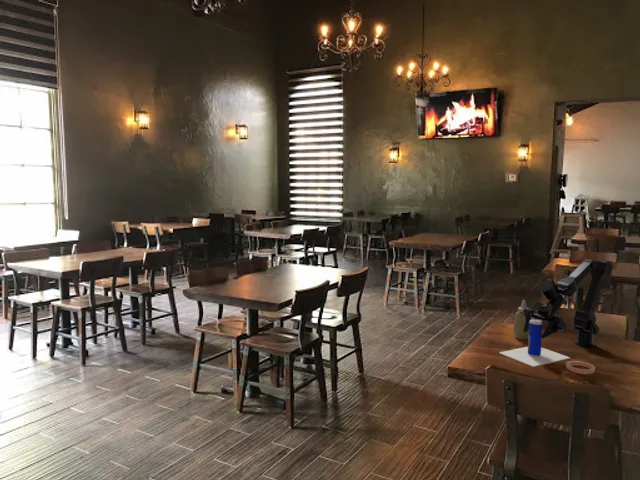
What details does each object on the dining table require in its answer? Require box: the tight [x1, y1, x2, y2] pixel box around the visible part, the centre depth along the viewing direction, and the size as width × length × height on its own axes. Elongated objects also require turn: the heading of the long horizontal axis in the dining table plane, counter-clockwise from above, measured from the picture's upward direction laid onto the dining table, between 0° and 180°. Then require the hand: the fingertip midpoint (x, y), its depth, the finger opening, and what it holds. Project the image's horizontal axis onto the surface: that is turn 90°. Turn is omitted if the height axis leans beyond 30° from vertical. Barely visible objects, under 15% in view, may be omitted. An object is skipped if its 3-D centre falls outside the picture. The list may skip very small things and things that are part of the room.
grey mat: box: [498, 346, 571, 368], centre depth 225 cm, size 22×18×1 cm
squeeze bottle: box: [512, 299, 530, 340], centre depth 248 cm, size 8×8×18 cm
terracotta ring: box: [565, 360, 596, 375], centre depth 210 cm, size 10×10×2 cm
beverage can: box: [527, 319, 543, 357], centre depth 224 cm, size 5×5×15 cm
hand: (533, 334), depth 223 cm, fingers open, 9 cm apart
